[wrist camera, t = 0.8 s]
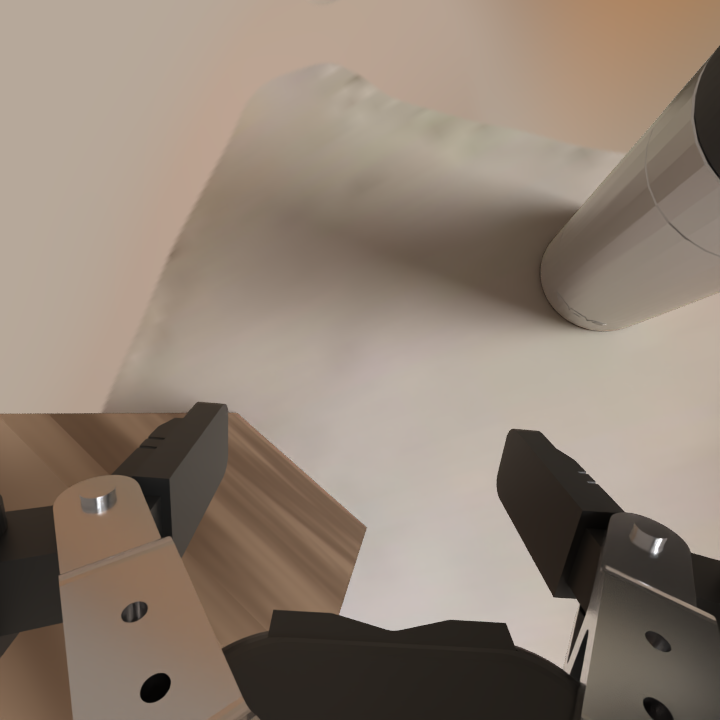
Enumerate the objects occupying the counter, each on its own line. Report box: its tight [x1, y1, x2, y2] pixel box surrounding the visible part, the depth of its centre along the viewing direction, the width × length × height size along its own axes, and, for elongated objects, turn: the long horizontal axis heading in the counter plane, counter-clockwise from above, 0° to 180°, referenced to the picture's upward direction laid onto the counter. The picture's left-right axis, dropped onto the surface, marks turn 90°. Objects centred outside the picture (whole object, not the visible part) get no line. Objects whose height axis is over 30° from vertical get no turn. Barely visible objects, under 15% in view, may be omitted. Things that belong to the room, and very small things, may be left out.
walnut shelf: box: [0, 413, 367, 720], centre depth 22 cm, size 20×14×20 cm
